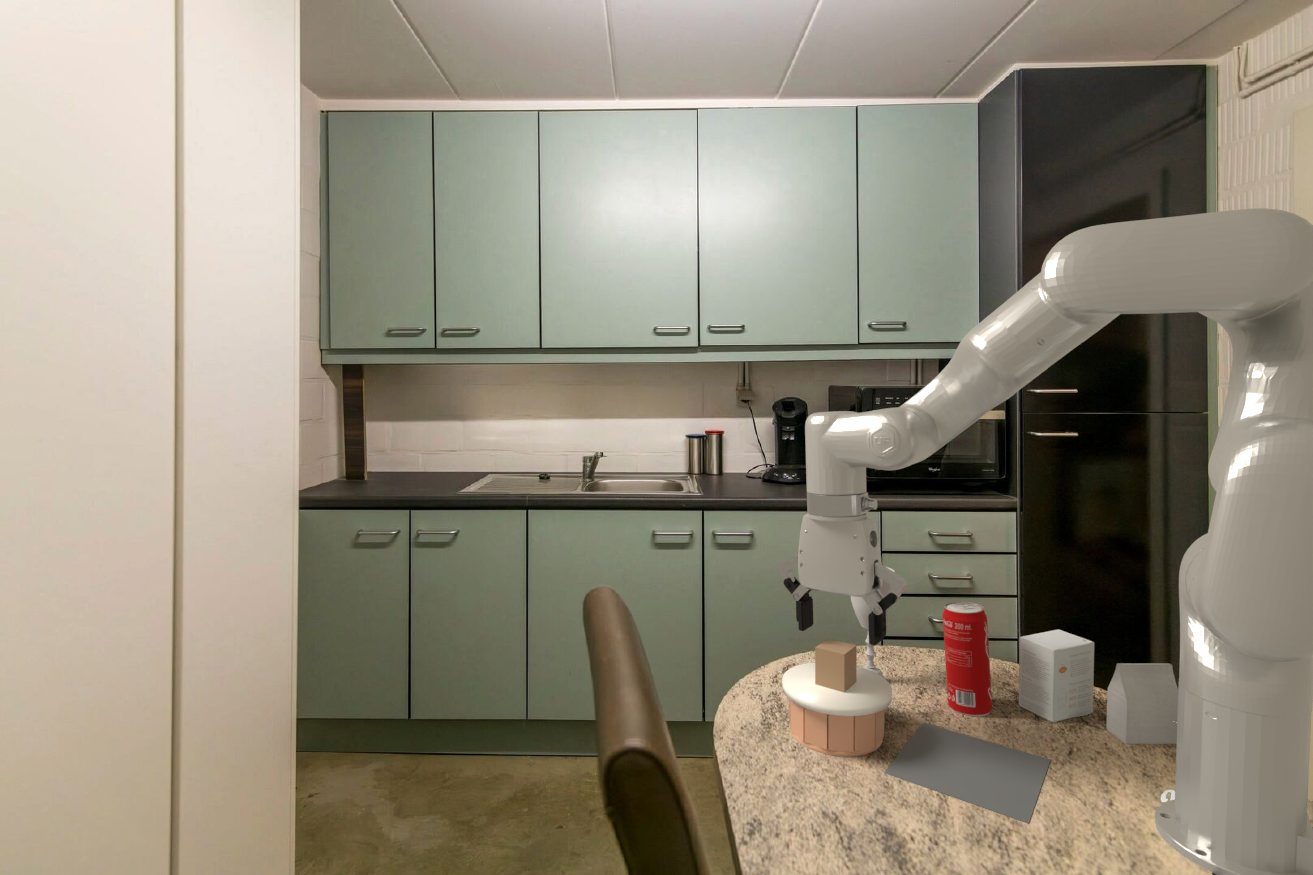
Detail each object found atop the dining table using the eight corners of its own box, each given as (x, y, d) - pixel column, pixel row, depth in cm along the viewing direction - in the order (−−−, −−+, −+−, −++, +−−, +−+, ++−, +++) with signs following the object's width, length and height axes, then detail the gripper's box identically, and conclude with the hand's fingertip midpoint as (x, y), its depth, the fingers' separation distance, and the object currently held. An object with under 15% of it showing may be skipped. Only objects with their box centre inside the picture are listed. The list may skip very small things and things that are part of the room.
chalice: (867, 670, 106) (867, 562, 105) (903, 684, 100) (904, 571, 99) (837, 681, 102) (837, 569, 101) (873, 697, 96) (874, 578, 95)
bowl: (895, 729, 87) (896, 686, 86) (862, 770, 77) (862, 721, 77) (813, 704, 94) (813, 664, 94) (773, 738, 85) (773, 694, 85)
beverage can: (997, 721, 89) (999, 614, 88) (947, 717, 90) (948, 611, 89) (984, 701, 95) (986, 600, 94) (937, 697, 96) (938, 598, 95)
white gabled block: (1180, 746, 82) (1182, 669, 81) (1125, 746, 82) (1128, 670, 81) (1158, 731, 85) (1160, 658, 85) (1106, 731, 86) (1108, 658, 85)
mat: (1050, 762, 79) (1050, 759, 79) (1028, 826, 67) (1028, 822, 67) (923, 725, 88) (923, 722, 88) (884, 775, 76) (884, 772, 76)
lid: (907, 685, 87) (907, 642, 86) (867, 727, 76) (868, 677, 75) (810, 660, 95) (810, 620, 95) (763, 694, 85) (762, 650, 84)
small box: (1057, 697, 96) (1058, 628, 95) (1094, 714, 90) (1096, 641, 90) (1016, 707, 93) (1018, 635, 92) (1052, 725, 88) (1054, 649, 87)
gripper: (913, 506, 82) (916, 639, 82) (789, 498, 92) (793, 616, 93) (893, 514, 76) (896, 657, 76) (763, 505, 87) (767, 630, 87)
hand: (839, 634), depth 85 cm, fingers open, 9 cm apart
